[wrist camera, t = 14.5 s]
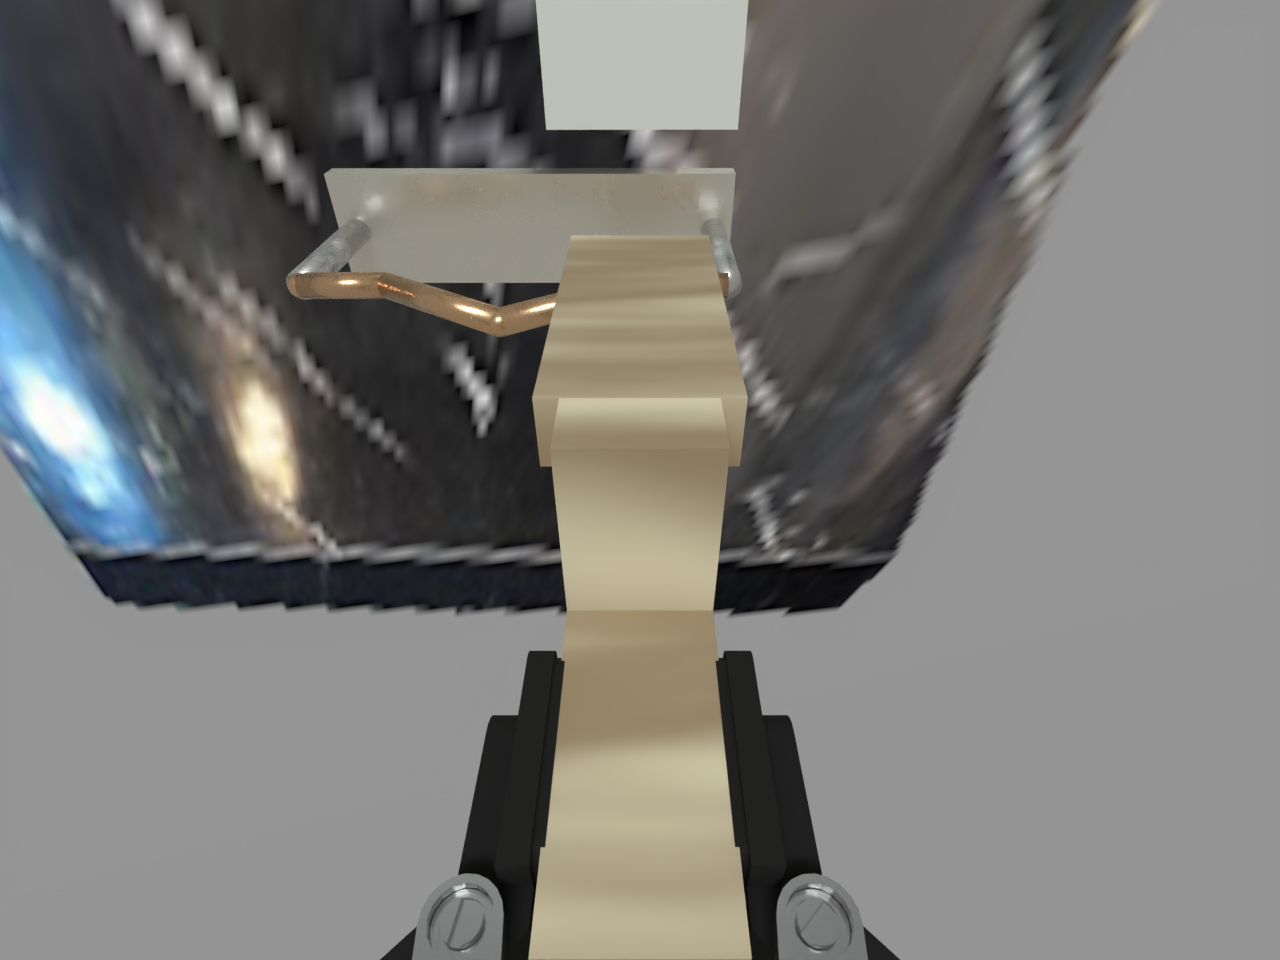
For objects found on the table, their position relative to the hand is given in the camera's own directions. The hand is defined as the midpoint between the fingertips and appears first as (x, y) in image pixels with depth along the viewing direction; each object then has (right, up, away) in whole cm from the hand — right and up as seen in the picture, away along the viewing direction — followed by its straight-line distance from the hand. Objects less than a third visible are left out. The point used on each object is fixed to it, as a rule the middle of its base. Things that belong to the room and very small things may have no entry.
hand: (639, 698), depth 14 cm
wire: (-6, +19, +24) cm, 32 cm away
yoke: (0, +7, +9) cm, 12 cm away
